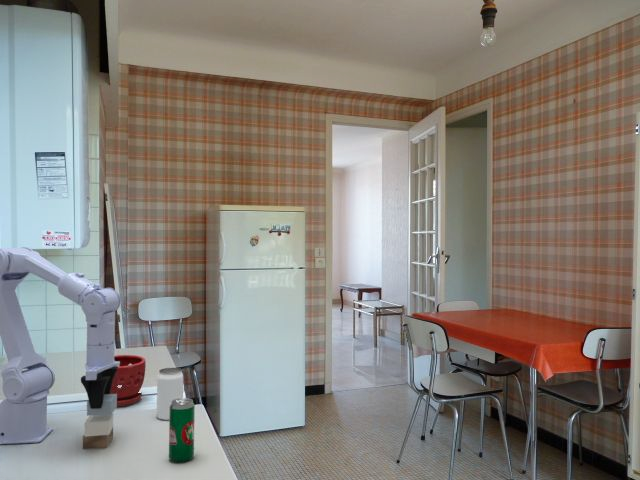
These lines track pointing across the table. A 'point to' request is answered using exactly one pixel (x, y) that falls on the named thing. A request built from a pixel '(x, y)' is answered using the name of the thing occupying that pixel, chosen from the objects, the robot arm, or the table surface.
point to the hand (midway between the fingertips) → (99, 404)
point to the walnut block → (97, 441)
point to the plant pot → (128, 379)
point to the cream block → (98, 425)
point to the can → (168, 390)
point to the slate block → (104, 406)
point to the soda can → (181, 430)
